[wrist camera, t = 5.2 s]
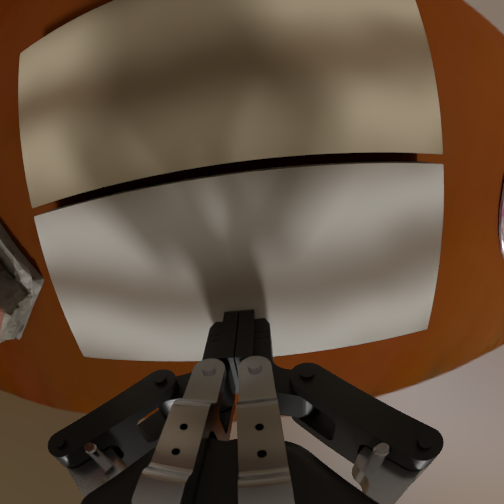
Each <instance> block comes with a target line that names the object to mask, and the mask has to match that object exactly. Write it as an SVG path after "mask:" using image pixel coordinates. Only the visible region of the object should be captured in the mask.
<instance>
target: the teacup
mask: <svg viewBox="0 0 504 504" xmlns="http://www.w3.org/2000/svg"><path fill="white" fill-rule="evenodd" d="M499 239H500V248H501V253H502V255H503V258H504V184H503V191H502V197H501V203H500V209H499Z"/></svg>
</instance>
